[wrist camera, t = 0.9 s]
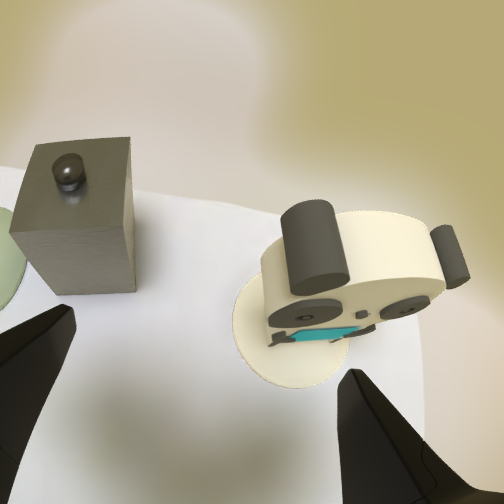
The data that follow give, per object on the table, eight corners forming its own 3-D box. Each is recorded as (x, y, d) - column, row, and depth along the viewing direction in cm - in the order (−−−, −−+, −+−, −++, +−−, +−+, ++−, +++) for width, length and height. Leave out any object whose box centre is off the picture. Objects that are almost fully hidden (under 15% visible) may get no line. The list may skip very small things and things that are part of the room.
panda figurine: (228, 393, 21) (324, 378, 9) (222, 263, 26) (281, 132, 14) (355, 379, 24) (493, 336, 12) (337, 270, 30) (437, 178, 17)
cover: (135, 292, 23) (121, 212, 14) (56, 295, 21) (0, 221, 11) (134, 219, 26) (130, 123, 17) (63, 222, 24) (32, 132, 14)
